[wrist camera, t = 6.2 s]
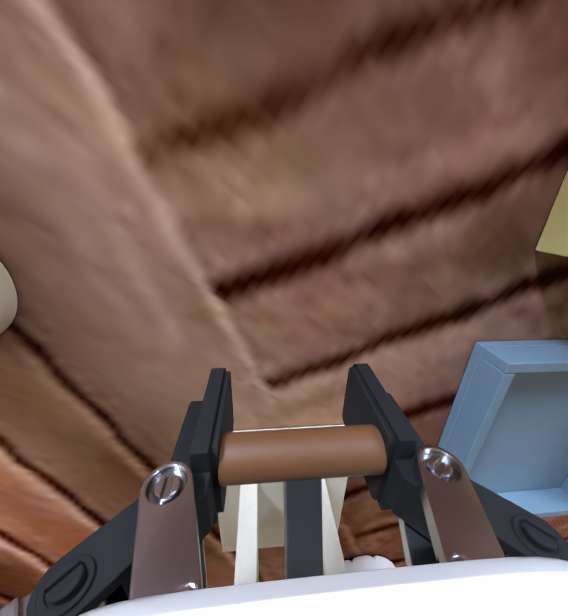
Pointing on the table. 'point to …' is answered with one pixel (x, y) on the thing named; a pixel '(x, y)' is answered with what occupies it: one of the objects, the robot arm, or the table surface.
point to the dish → (515, 422)
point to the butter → (557, 225)
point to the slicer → (275, 523)
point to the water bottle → (367, 563)
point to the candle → (7, 299)
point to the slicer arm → (301, 477)
